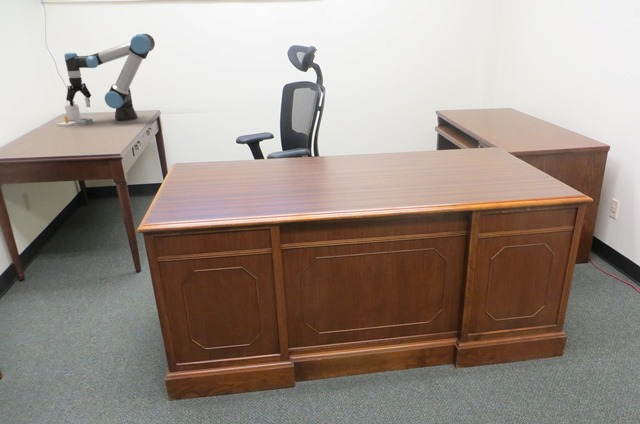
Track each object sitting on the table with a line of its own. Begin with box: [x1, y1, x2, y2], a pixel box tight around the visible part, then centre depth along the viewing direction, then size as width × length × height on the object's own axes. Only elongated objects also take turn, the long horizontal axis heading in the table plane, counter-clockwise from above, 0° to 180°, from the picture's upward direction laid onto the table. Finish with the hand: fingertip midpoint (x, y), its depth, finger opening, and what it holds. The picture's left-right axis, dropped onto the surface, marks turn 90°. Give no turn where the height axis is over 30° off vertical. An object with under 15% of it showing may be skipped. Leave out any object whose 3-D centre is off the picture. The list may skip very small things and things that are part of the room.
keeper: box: [56, 114, 77, 128], centre depth 320 cm, size 9×9×6 cm
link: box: [76, 117, 94, 126], centre depth 324 cm, size 7×7×3 cm
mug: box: [64, 103, 82, 122], centre depth 336 cm, size 9×12×11 cm
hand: (81, 108), depth 320 cm, fingers open, 13 cm apart
